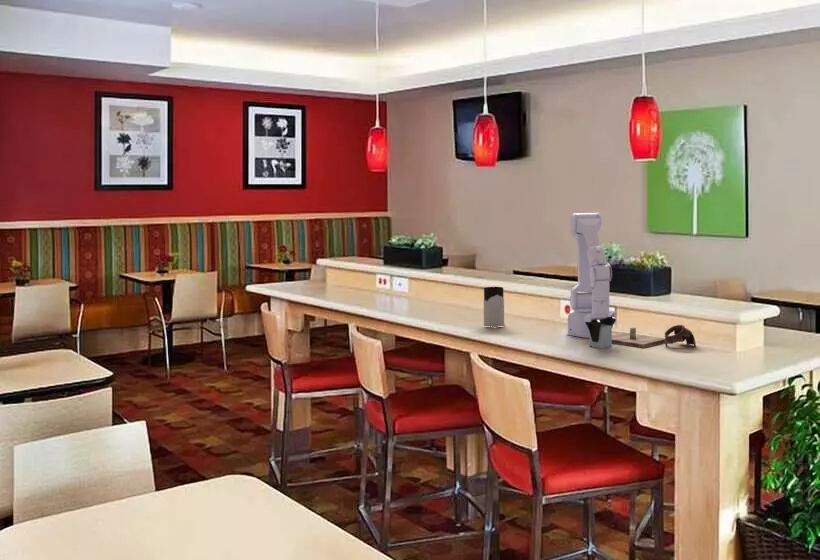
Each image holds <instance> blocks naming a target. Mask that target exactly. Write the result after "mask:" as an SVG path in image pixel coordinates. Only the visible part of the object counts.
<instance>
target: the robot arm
mask: <svg viewBox="0 0 820 560" xmlns="http://www.w3.org/2000/svg"><path fill="white" fill-rule="evenodd" d="M601 226H602V217H601V214H600V212H597V211H596V212H583V213H582V212H578V213H576V212H573V213H572V214H571V216H570V235H571V237H572V238H574V239H575V243H576V259H577V260H576V261H577V265H576V266H577V284H576V285H574V286H573V287H572V288H571V290H570V296H569V304H570V308H571V310H570V311H569V312H568V315H567V333H566V335H567V336H572V337H579V338H587V339H588V338H589V332H590V335H591V339H592V342H598V340H599V331H600V327H601V324H604V325H611V326H612V328H613V327H614V325H615V323H616V321H617V320H616V317H617V311H616V310H610V282H611V281H612V278H613V270H612V266H611V264H610V263H609V262H608V260H607V257H606V253H605V250H604V248H603V247H601V246H600V240H599V239H600V238H599V232H600V230H601Z"/></svg>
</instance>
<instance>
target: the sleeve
mask: <svg viewBox="0 0 820 560" xmlns="http://www.w3.org/2000/svg"><path fill="white" fill-rule="evenodd" d="M612 329H613V327H612V326H611V325H604V324H601V327H600V331H599V340H598V342H592V339H591V335H590V332H589V337H588V338H589V341H588V343H589V345H588V346H589V347H591V346H592V347H593V348H598V349H605V348H610V347H612V344H613V343H612V335H613V333H612Z"/></svg>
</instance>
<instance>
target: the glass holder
mask: <svg viewBox="0 0 820 560" xmlns="http://www.w3.org/2000/svg"><path fill="white" fill-rule="evenodd" d="M483 325H484V326H490V327H491V326H492V327H498V326H505V327H506V324H505V299H504V287H503V286H485V287H484V288H483Z"/></svg>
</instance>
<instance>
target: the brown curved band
mask: <svg viewBox="0 0 820 560" xmlns="http://www.w3.org/2000/svg"><path fill="white" fill-rule="evenodd" d="M671 333H674V334H672V335H670V334H671ZM664 338H665V343H664V344H665V346H666V347H668V344H669V345H670V344H671V345H672V344H675V343H683V342H686V346H687V345H688V346H689V345H691V346H693V347H694V348H695V349H696V347H697V343H696V340H695V336H694V334H693V332H692V330H690V329H689V328H686V327H685V325H683V324H676V325H674V326H671V327H670V328H668V329H667V330H666V331H665V332H664Z"/></svg>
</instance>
